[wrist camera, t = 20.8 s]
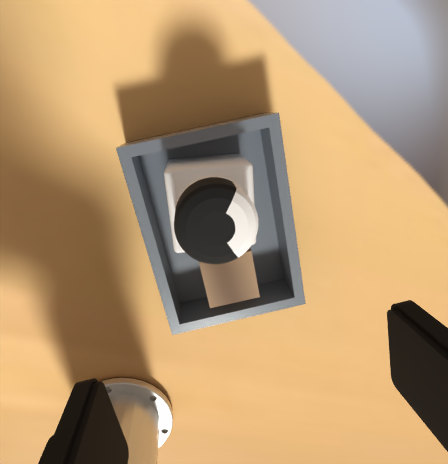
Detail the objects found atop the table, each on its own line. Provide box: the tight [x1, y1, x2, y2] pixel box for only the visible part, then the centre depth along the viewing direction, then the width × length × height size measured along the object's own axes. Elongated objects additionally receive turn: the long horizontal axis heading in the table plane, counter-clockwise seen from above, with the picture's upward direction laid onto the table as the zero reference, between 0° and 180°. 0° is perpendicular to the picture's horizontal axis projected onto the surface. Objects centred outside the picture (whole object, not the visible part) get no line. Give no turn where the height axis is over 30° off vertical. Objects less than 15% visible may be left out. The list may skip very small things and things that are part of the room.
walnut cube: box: [199, 248, 260, 308], centre depth 36 cm, size 5×5×5 cm
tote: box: [116, 113, 305, 335], centre depth 35 cm, size 19×14×5 cm
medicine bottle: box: [164, 153, 258, 264], centre depth 30 cm, size 7×7×12 cm
